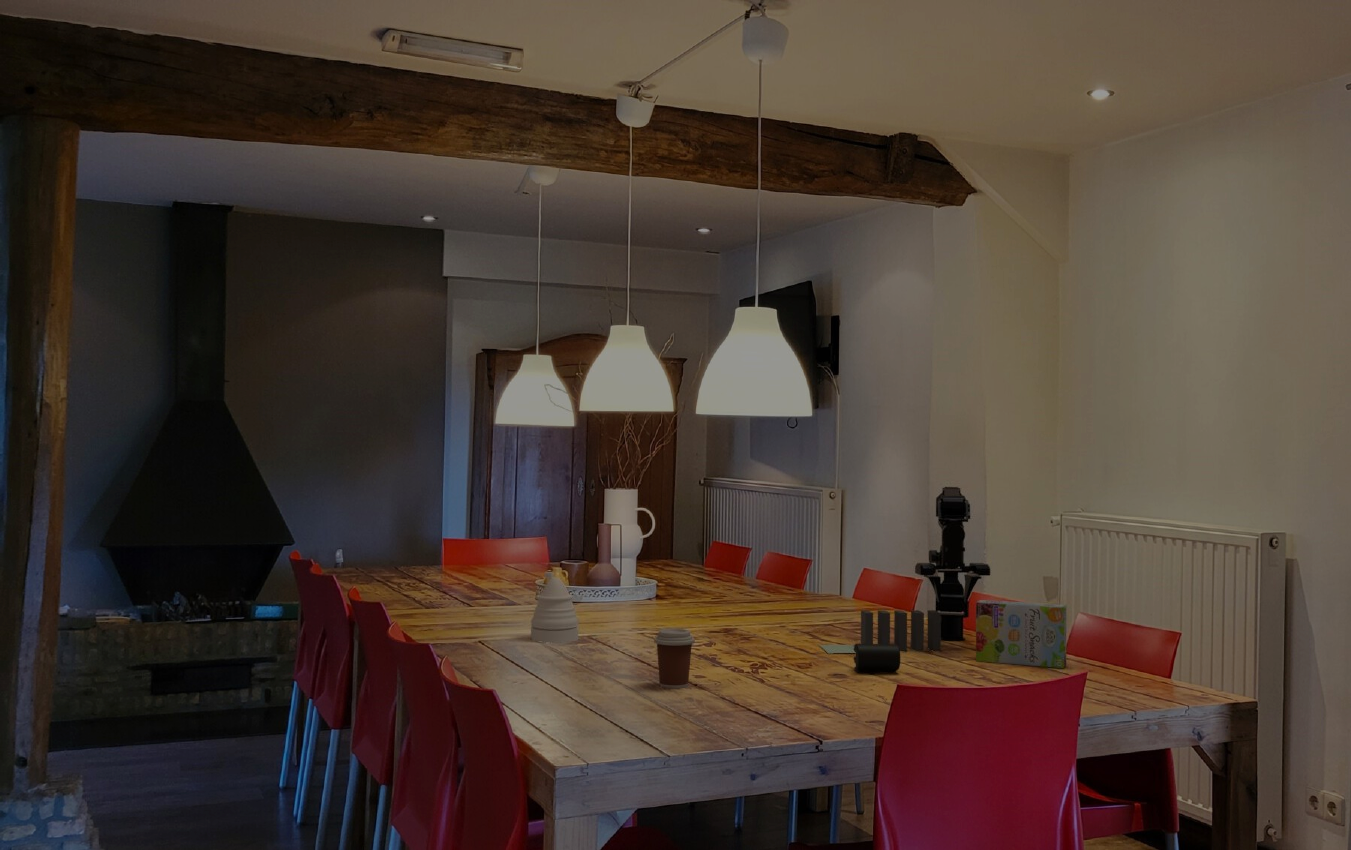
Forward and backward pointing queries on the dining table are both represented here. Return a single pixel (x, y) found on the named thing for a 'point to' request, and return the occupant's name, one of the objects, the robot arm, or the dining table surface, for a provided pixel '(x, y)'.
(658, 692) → the dining table surface
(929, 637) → the domino
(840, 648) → the mat
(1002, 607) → the snack box
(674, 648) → the coffee cup
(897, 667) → the end cap
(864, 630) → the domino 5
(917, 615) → the domino
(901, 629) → the domino
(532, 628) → the honey pot
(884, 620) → the domino
